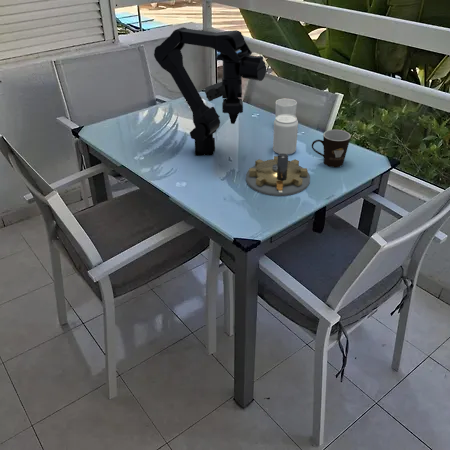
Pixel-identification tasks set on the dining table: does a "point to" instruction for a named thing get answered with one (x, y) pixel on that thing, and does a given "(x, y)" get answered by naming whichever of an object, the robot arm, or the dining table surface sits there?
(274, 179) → the sprocket
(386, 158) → the dining table surface
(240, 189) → the dining table surface
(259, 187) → the sprocket base
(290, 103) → the white translucent cylinder
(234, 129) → the dining table surface
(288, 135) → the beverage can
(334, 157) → the coffee mug
